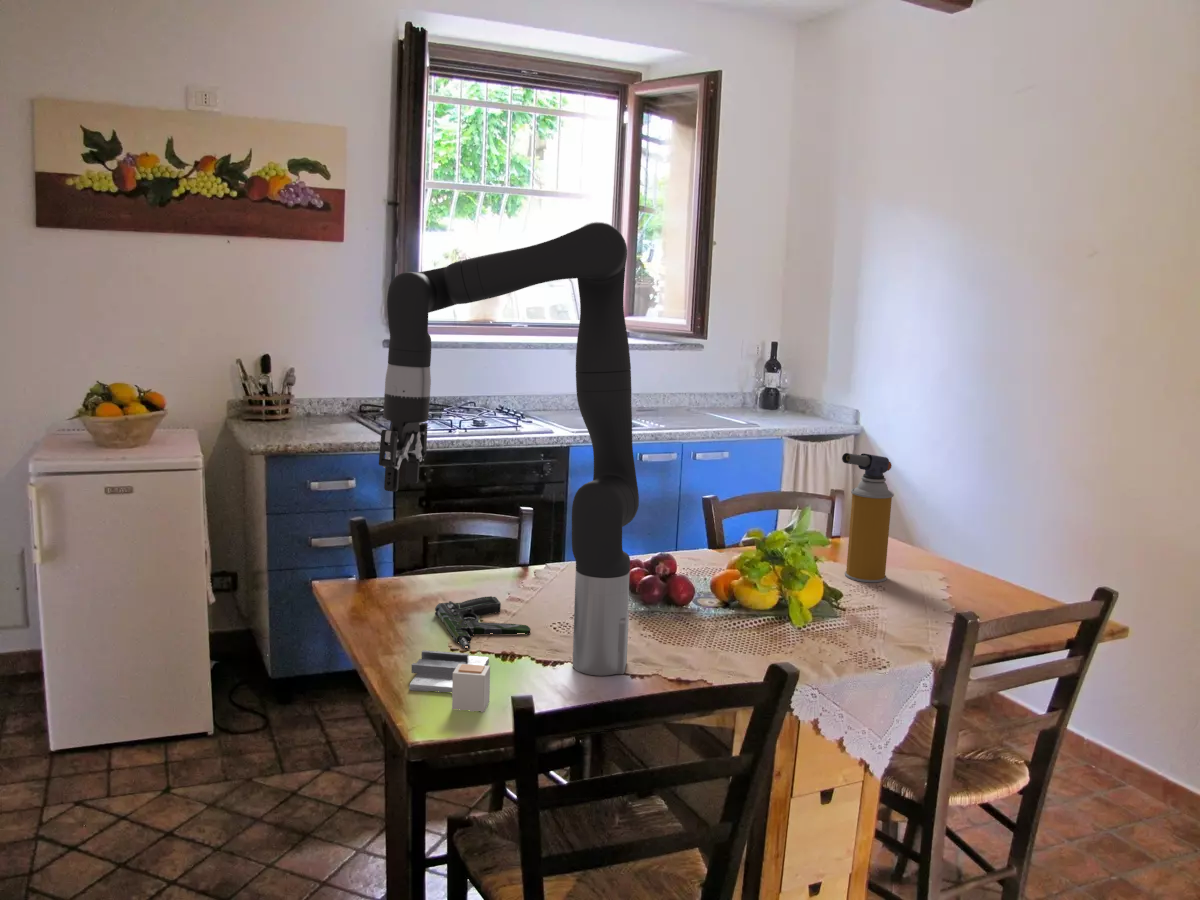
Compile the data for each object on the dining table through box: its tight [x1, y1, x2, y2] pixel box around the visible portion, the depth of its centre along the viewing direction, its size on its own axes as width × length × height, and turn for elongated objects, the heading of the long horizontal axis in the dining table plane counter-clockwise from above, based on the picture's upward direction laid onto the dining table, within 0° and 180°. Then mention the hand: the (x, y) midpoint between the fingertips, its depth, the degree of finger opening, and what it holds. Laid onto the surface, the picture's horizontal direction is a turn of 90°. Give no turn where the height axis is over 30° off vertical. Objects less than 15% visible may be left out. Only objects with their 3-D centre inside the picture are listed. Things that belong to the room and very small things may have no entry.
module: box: [451, 664, 491, 713], centre depth 161 cm, size 5×4×6 cm
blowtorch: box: [841, 452, 895, 584], centre depth 235 cm, size 9×16×30 cm, turn 129°
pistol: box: [434, 595, 531, 649], centre depth 197 cm, size 3×22×15 cm
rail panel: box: [409, 649, 490, 693], centre depth 173 cm, size 11×14×2 cm
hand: (401, 486), depth 176 cm, fingers open, 8 cm apart
